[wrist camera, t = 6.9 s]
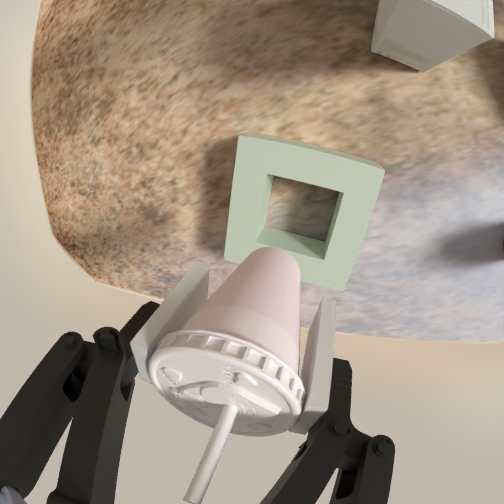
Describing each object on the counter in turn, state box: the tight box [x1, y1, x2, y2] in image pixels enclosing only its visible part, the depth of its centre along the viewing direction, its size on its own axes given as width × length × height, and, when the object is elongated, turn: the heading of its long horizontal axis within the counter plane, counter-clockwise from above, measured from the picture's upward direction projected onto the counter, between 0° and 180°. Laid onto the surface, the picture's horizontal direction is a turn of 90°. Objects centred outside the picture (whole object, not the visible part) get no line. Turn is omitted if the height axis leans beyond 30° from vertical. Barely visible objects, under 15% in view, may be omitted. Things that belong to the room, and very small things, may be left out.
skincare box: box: [371, 0, 494, 72], centre depth 11 cm, size 8×7×16 cm
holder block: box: [224, 132, 385, 292], centre depth 28 cm, size 14×14×4 cm
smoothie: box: [148, 247, 306, 504], centre depth 11 cm, size 6×6×14 cm
